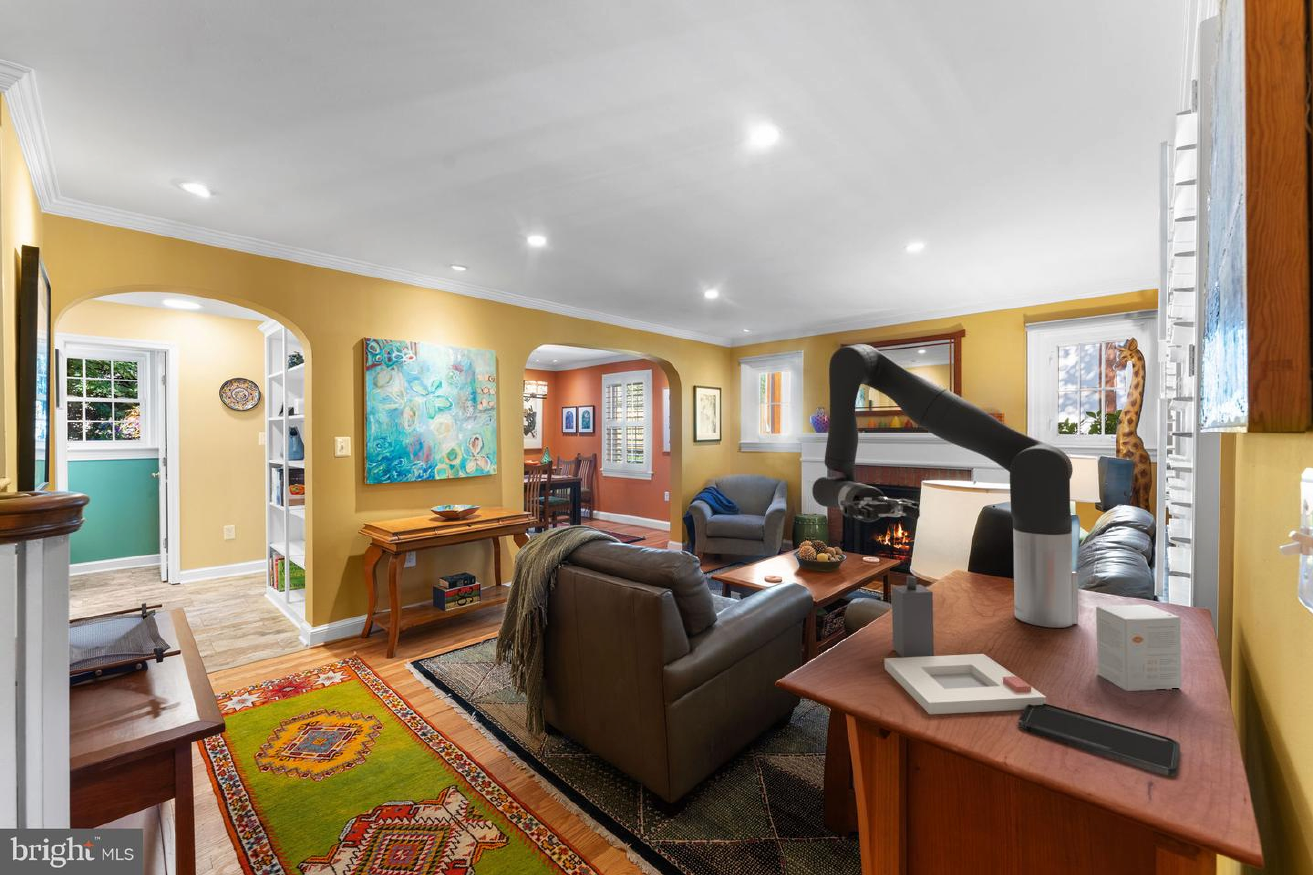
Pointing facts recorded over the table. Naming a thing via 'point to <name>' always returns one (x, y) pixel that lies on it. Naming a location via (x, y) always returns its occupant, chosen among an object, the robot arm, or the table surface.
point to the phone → (1103, 737)
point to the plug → (912, 620)
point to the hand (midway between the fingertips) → (894, 514)
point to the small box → (1138, 647)
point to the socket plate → (962, 684)
